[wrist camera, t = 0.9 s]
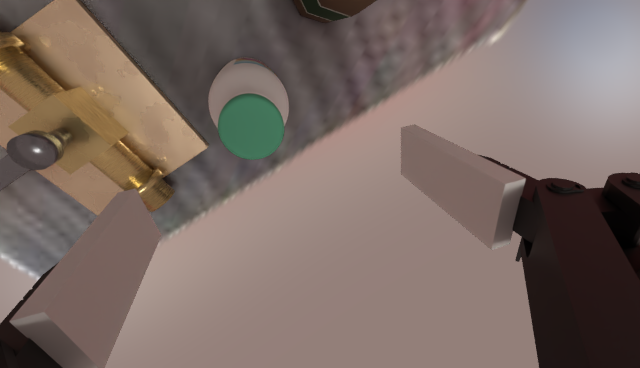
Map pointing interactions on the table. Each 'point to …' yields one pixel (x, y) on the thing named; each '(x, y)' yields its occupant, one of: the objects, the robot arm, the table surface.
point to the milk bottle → (249, 108)
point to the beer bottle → (330, 8)
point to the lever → (29, 155)
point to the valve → (91, 108)
